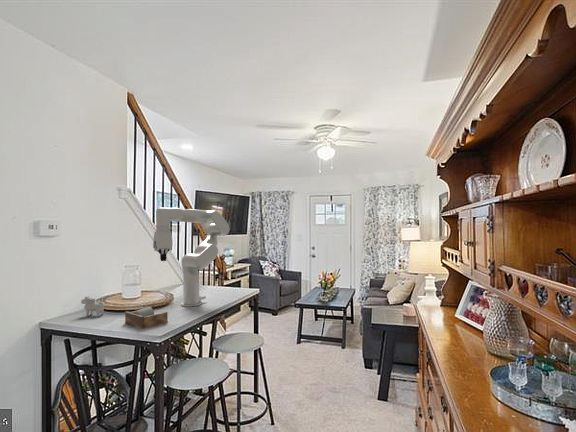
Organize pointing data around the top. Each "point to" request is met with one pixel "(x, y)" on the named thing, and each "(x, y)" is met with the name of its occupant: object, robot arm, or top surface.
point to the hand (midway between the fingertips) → (163, 260)
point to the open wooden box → (145, 319)
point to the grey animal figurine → (92, 306)
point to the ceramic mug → (145, 312)
